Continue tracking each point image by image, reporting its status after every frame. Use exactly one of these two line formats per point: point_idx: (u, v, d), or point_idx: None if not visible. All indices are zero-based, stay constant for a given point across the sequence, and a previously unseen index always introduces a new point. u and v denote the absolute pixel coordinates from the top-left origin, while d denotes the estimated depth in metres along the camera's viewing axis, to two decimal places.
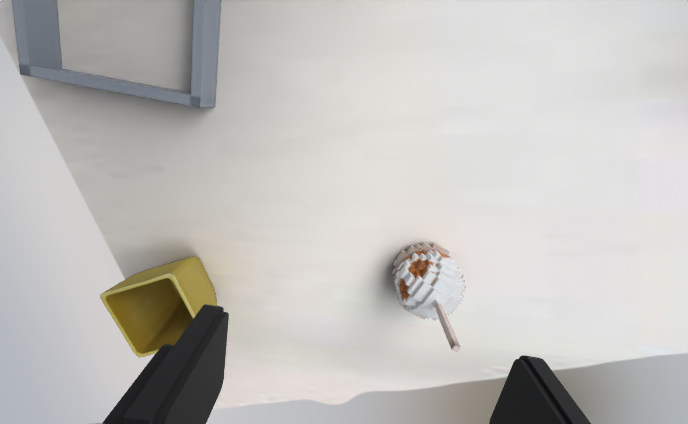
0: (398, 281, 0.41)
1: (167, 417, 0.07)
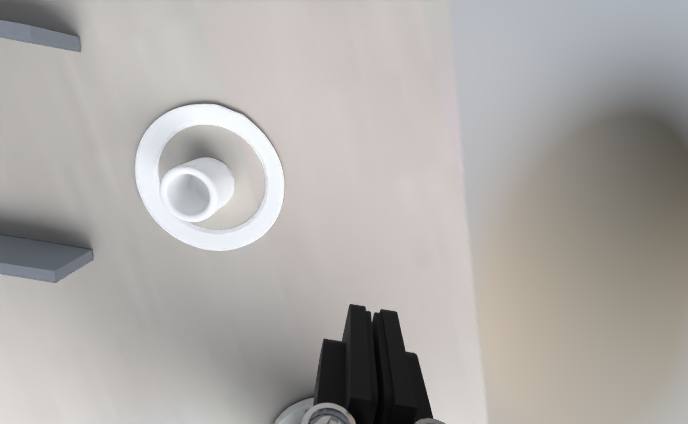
0: None
1: (377, 398, 0.08)
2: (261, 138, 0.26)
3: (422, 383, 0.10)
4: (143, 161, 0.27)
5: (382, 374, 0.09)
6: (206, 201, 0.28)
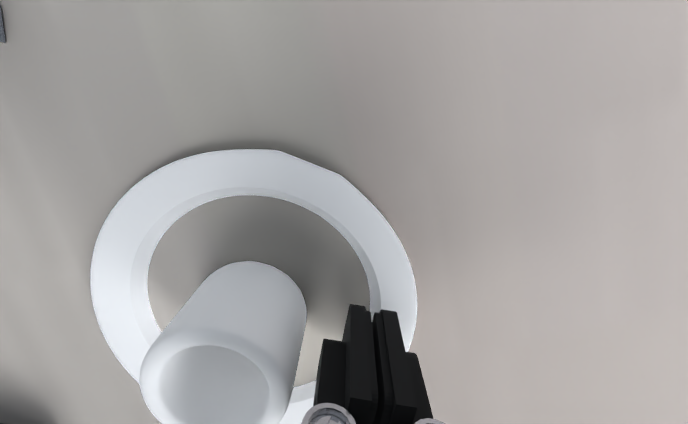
0: None
1: (377, 398, 0.08)
2: (377, 226, 0.11)
3: (422, 383, 0.10)
4: (109, 271, 0.12)
5: (382, 374, 0.09)
6: None
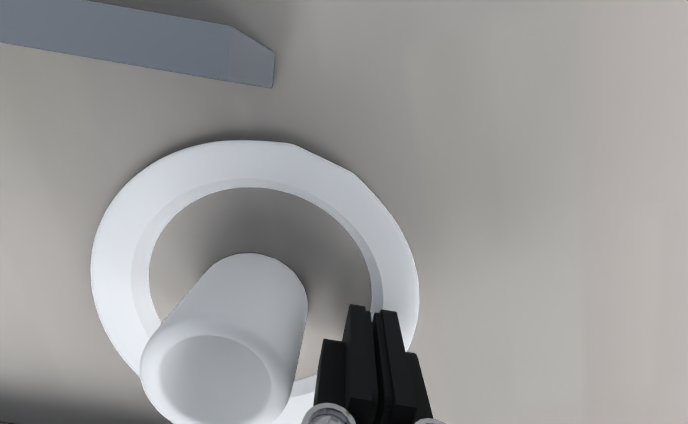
0: None
1: (377, 398, 0.08)
2: (386, 226, 0.11)
3: (422, 383, 0.10)
4: (111, 254, 0.12)
5: (382, 374, 0.09)
6: None
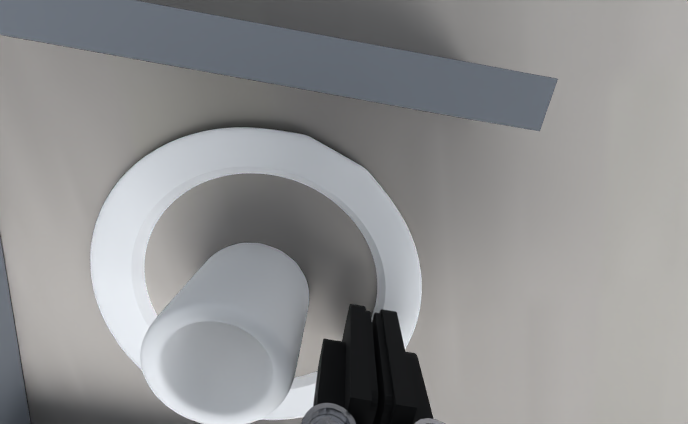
0: None
1: (377, 398, 0.08)
2: (394, 224, 0.11)
3: (422, 383, 0.10)
4: (113, 235, 0.12)
5: (382, 374, 0.09)
6: (242, 331, 0.13)
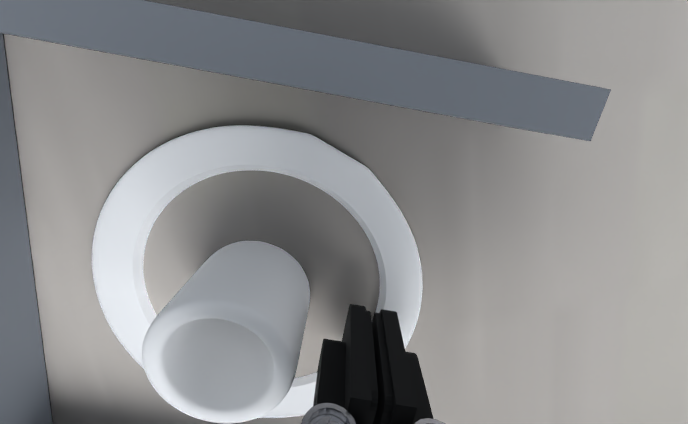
0: None
1: (377, 398, 0.08)
2: (396, 224, 0.11)
3: (422, 383, 0.10)
4: (115, 231, 0.12)
5: (382, 374, 0.09)
6: (242, 329, 0.13)
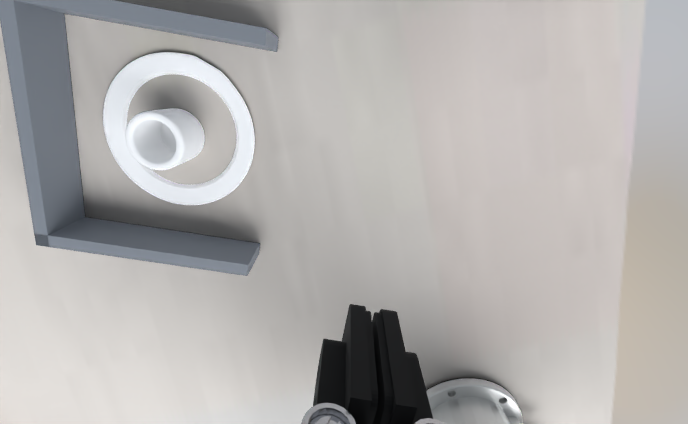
0: None
1: (377, 398, 0.08)
2: (236, 97, 0.26)
3: (422, 383, 0.10)
4: (113, 103, 0.26)
5: (382, 374, 0.09)
6: (174, 153, 0.28)
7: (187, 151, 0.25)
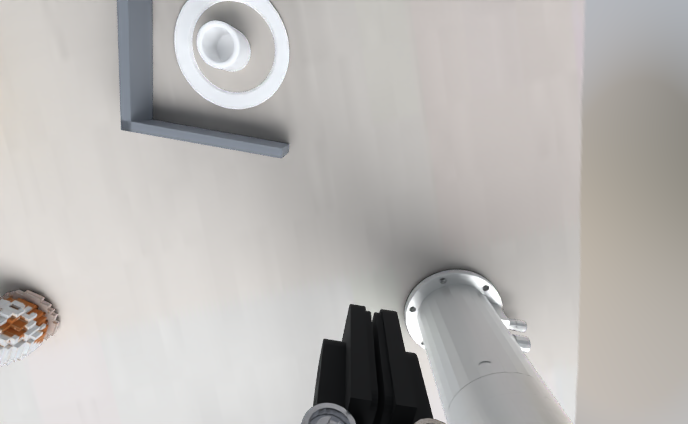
0: None
1: (377, 398, 0.08)
2: (277, 19, 0.34)
3: (422, 383, 0.10)
4: (183, 23, 0.35)
5: (382, 374, 0.09)
6: None
7: (240, 54, 0.33)
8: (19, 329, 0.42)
